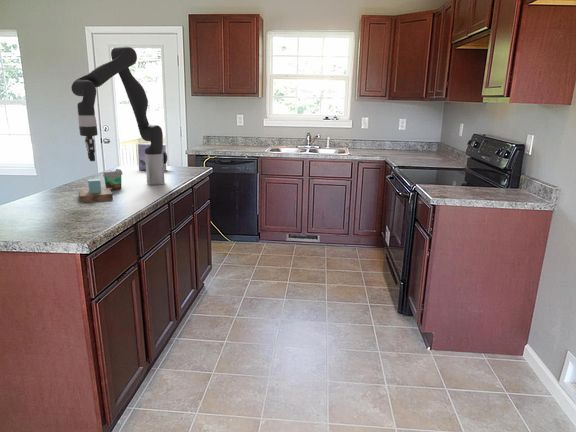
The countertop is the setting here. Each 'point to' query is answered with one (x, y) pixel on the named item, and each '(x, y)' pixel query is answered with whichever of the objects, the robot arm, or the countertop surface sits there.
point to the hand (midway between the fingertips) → (91, 159)
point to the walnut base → (95, 195)
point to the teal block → (94, 186)
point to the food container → (113, 179)
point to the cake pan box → (142, 156)
